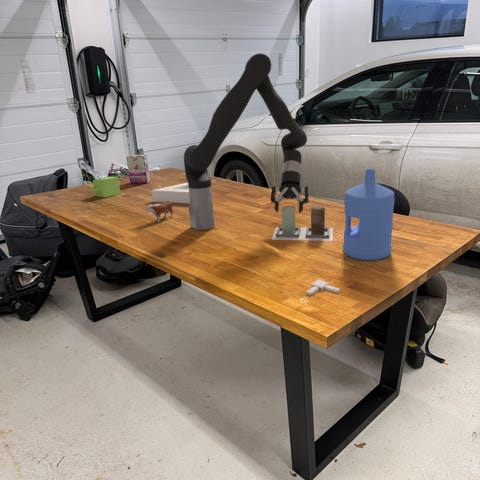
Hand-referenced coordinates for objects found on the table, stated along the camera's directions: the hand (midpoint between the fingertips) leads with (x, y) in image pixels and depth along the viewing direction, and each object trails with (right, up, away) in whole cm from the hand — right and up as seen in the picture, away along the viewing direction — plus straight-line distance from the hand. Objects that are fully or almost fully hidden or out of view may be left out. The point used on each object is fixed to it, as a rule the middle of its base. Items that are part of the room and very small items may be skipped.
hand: (288, 211), depth 171 cm
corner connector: (+5, -26, -42) cm, 50 cm away
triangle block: (-44, +12, +66) cm, 80 cm away
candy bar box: (-78, +24, +102) cm, 130 cm away
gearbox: (-91, +14, +78) cm, 120 cm away
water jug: (+25, -15, -17) cm, 34 cm away
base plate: (+6, -9, 0) cm, 11 cm away
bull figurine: (-53, -2, +30) cm, 61 cm away
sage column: (0, -8, +1) cm, 8 cm away
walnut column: (+11, -8, -1) cm, 14 cm away
